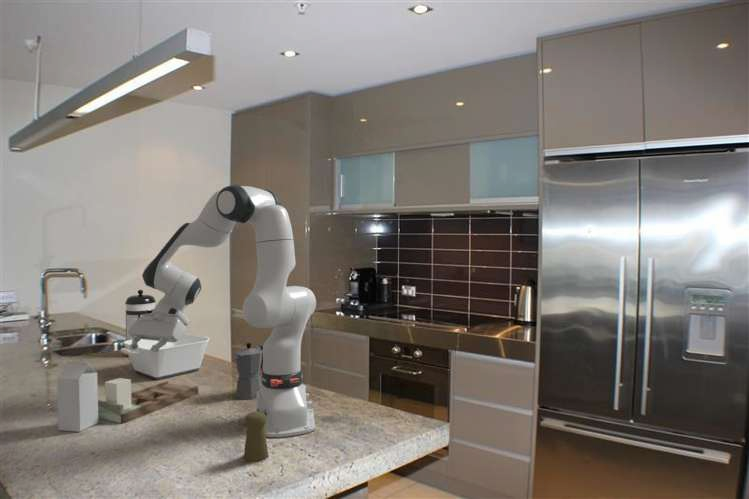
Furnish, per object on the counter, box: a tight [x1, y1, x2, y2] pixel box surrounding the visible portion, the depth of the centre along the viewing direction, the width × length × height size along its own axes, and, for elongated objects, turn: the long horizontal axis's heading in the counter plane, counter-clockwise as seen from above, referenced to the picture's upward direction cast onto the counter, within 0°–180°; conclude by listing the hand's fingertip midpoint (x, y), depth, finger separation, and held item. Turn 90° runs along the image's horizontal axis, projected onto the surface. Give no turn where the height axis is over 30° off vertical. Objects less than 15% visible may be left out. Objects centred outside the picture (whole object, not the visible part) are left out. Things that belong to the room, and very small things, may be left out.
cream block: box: [104, 377, 132, 410], centre depth 155 cm, size 5×5×8 cm
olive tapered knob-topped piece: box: [243, 411, 269, 463], centre depth 125 cm, size 6×6×11 cm
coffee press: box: [123, 289, 157, 357], centre depth 234 cm, size 17×16×30 cm
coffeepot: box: [234, 342, 263, 400], centre depth 174 cm, size 15×9×18 cm, turn 157°
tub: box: [120, 332, 210, 381], centre depth 204 cm, size 34×27×13 cm
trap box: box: [98, 381, 199, 424], centre depth 165 cm, size 30×15×5 cm, turn 155°
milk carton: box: [56, 360, 99, 433], centre depth 146 cm, size 7×7×19 cm
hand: (142, 349), depth 163 cm, fingers open, 8 cm apart
